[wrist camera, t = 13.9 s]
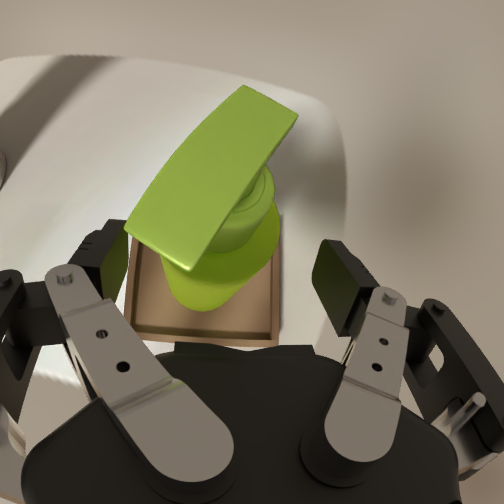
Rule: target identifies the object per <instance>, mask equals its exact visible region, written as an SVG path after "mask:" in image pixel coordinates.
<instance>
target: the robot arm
mask: <svg viewBox="0 0 504 504" xmlns="http://www.w3.org/2000/svg"><path fill="white" fill-rule="evenodd" d="M5 172H6V160H5V157H4V154H3V153H2V152H1V150H0V187H1V185H2V182H3V180H4V176H5ZM126 222H127V220H116V219H109V220H108V221H107V222H106V224H105V225H104V227H103V228H102V230H95V231H93V232H92V233H90V234H88V235H87V236H86V237H85V239H84V240H83V241H82V244H80V246H79V247H78V249H77V250H76V251H75V253H74V254H73V256H72V257H71V259H70V260H69V262H68V263H67V264H64V265H59V266H56V267H54V268H52V269H51V270H50V271H48V272H47V274H46V275H45V281H40V282H30V283H24V280H23V276H22V274H21V273H20V272H19V271H17V270H13V269H9V270H3V271H0V497H1V498H3V499H6V500H9V501H11V502H14V503H17V504H462V501H461V497H460V491H459V481H464V480H466V479H468V478H469V477H470V476H472V475H473V474H475V473H476V472H477V471H479V470H480V469H482V468H483V467H484V466H485V465H487V464H488V463H489V462H491V461H492V460H493V459H494V458H496V457H497V456H498V455H499V454H501V453H502V452H503V451H504V383H503V382H502V380H501V379H500V377H499V376H498V374H497V373H496V371H495V370H494V368H493V367H492V365H491V364H490V362H489V361H488V360H487V358H486V357H485V355H484V354H483V352H482V351H481V350H480V348H479V347H478V346H477V344H476V343H475V341H474V340H473V339H472V338H471V336H470V335H469V333H468V332H467V331H466V330H465V328H464V327H463V326H462V324H461V323H460V322H459V320H458V319H457V318H456V317H455V315H454V314H453V313H452V312H451V310H450V309H449V308H448V307H447V306H446V305H444V304H443V303H441V302H440V301H437V300H435V299H425V300H424V302H423V304H422V306H421V308H420V309H419V308H415V307H411V306H407V302H406V300H405V298H404V297H403V296H402V295H401V294H400V293H398V292H397V291H395V290H393V289H391V288H387V287H381V286H380V285H379V284H378V283H377V281H376V280H375V279H374V277H373V276H372V275H371V274H370V273H369V271H368V270H367V268H365V266H364V265H363V263H362V262H361V261H360V260H359V259H358V258H357V257H355V256H354V255H353V254H351V253H350V252H349V250H348V249H347V248H346V247H345V245H344V244H343V243H342V242H341V241H336V240H327V239H324V240H323V241H322V242H321V245H320V248H319V251H318V255H317V258H316V261H315V264H314V268H313V271H312V284H313V286H314V288H315V290H316V292H317V294H318V296H319V298H320V300H321V302H322V304H323V306H324V308H325V310H326V312H327V315H328V317H329V319H330V320H331V323H332V325H333V327H334V329H335V331H336V333H337V335H338V337H346V336H347V337H349V336H351V340H350V342H349V344H348V346H347V348H346V351H345V353H344V355H343V358H342V360H341V362H340V363H339V362H337V361H335V360H333V359H330V358H327V357H324V356H320V355H316V354H315V352H314V349H313V346H312V345H279V346H274V347H269V348H264V349H259V350H253V351H242V350H238V349H233V348H228V347H224V346H220V345H215V344H211V343H197V342H182V341H175V346H174V351H173V352H167V353H162V354H158V355H155V356H154V355H153V354H152V353H151V351H150V350H149V349H148V348H147V346H146V345H145V344H144V343H143V341H142V340H141V339H140V337H139V336H138V335H137V334H136V332H135V331H134V330H133V328H132V327H131V326H130V324H129V323H128V322H127V320H126V319H125V317H124V316H123V315H122V313H121V312H120V311H119V309H118V308H117V306H116V305H115V302H116V299H117V296H118V293H119V291H120V288H121V285H122V282H123V280H124V277H125V274H126V272H127V268H128V259H129V253H128V233H127V232H126V231H125V230H124V225H125V223H126ZM4 335H6V336H5V338H4V340H3V342H2V339H3V337H4ZM55 344H62V345H63V348H64V350H65V352H66V354H67V357H68V359H69V361H70V363H71V365H72V367H73V369H74V371H75V373H76V375H77V377H78V379H79V381H80V383H81V385H82V387H83V390H84V392H85V394H86V396H87V398H88V400H89V402H90V403H89V404H88V405H86V406H85V407H84V408H82V409H81V410H80V411H79V412H77V413H76V414H75V415H74V416H73V417H71V418H70V419H68V420H67V421H66V422H65V423H63V424H62V425H61V426H60V427H58V428H57V429H56V430H55V431H53V432H52V433H51V434H49V435H48V436H47V437H46V438H44V439H43V440H42V441H41V442H39V443H38V444H37V445H36V446H35V447H34V448H33V449H32V450H31V451H30V452H29V454H28V455H27V457H26V452H25V446H26V445H25V444H26V442H25V436H24V434H23V432H22V430H21V429H20V427H19V426H18V425H17V424H18V420H19V416H20V413H21V409H22V405H23V402H24V398H25V395H26V391H27V388H28V385H29V382H30V378H31V376H32V373H33V370H34V367H35V364H36V361H37V358H38V355H39V353H40V350H41V347H42V346H45V345H55ZM436 344H437V346H438V347H439V349H440V350H441V352H442V353H443V356H444V364H443V366H442V368H441V369H440V371H439V372H437V370H436V368H435V366H434V365H433V363H432V361H431V360H430V358H429V354H430V353H431V351H432V350H433V348H434V347H435V345H436ZM402 376H404V378H405V380H406V382H407V384H408V387H409V389H410V391H411V393H412V395H413V397H414V398H415V401H416V403H417V405H418V407H419V409H420V411H421V414H422V416H423V418H424V419H422V418H421V417H419V416H418V415H416V414H415V413H413V412H412V411H410V410H409V409H407V408H406V407H404V406H403V405H401V401H400V400H399V391H400V387H401V381H402Z"/></svg>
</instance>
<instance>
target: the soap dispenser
mask: <svg viewBox="0 0 504 504" xmlns="http://www.w3.org/2000/svg"><path fill="white" fill-rule="evenodd" d="M298 116H299V115H298V114H297V113H295V112H293V111H292V110H290V109H288V108H287V107H285V106H283V105H281V104H279V103H278V102H276V101H274V100H272V99H270V98H269V97H267V96H265V95H263V94H261V93H259V92H257V91H256V90H254V89H252V88H250V87H248V86H246V85H242V86H241V87H240V88H239V89H237V90H236V91H235V92H234V93H233V94H232V95H230V96H229V97H228V98H227V99H226V100H225V101H224V102H223V103H221V104H220V105H219V106H218V107H217V108H216V109H215V110H214V111H213V112H212V113H211V114H210V115H209V116H208V117H207V118H206V119H205V120H204V121H203V122H202V123H201V124H200V125H199V126H198V127H197V128H196V129H195V130H194V131H193V132H192V133H191V134H190V135H189V136H188V137H187V138H186V140H185V141H184V142H183V143H182V144H181V145H180V146H179V148H178V149H177V150H176V151H175V152H174V154H173V155H172V156H171V157H170V158H169V160H168V161H167V162H166V164H165V165H164V166H163V168H162V169H161V170H160V172H159V173H158V174H157V176H156V177H155V178H154V180H153V181H152V183H151V184H150V186H149V187H148V189H147V190H146V191H145V193H144V194H143V196H142V197H141V199H140V201H139V202H138V204H137V205H136V207H135V208H134V210H133V212H132V213H131V215H130V216H129V218H128V220H127V222H126V223H125V225H124V230H125V231H126V232H127V233H129V234H130V235H132V236H133V237H134V238H136V239H137V240H139V241H140V242H142V243H143V244H145V245H146V246H148V247H149V248H151V249H152V250H153V251H155V252H157V253H158V254H160V257H161V260H162V264H163V267H164V271H165V274H166V278H167V281H168V284H169V288H170V290H171V292H172V294H173V296H174V297H175V299H176V300H177V301H178V302H179V303H180V304H182V305H183V306H185V307H187V308H189V309H191V310H195V311H210V310H213V309H216V308H218V307H220V306H221V305H223V304H224V303H225V302H226V301H227V300H228V299H230V298H231V297H232V296H233V295H234V294H235V293H236V292H237V291H238V290H239V289H240V288H241V287H242V286H244V285H245V284H246V283H247V282H248V281H249V280H250V279H251V278H252V277H253V276H254V275H255V274H256V273H257V272H259V271H260V270H261V269H262V268H263V267H264V266H265V265H266V264H267V262H268V261H269V260H270V258H271V257H272V255H273V253H274V251H275V249H276V247H277V244H278V240H279V235H280V219H279V214H278V210H277V207H276V205H275V203H274V201H273V199H274V194H275V185H274V180H273V177H272V174H271V172H270V170H269V168H268V167H267V165H266V163H267V161H268V160H269V158H270V157H271V156H272V154H273V153H274V151H275V150H276V149H277V147H278V146H279V145H280V143H281V142H282V141H283V139H284V138H285V136H286V135H287V134H288V132H289V131H290V130H291V128H292V127H293V125H294V123H295V122H296V120H297V118H298Z"/></svg>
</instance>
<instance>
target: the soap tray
mask: <svg viewBox="0 0 504 504" xmlns="http://www.w3.org/2000/svg"><path fill="white" fill-rule="evenodd" d="M279 276H280V235H279V240H278V244H277V247H276V249H275V251H274V253H273V255H272V257H271V258H270V260H269V261H268V262H267V264H266V265H265V266H264V267H263V268H262V269H261V270H260V271H259V272H257V273H256V274H255V275H254V276H253V277H252V278H251V279H250V280H249V281H248V282H247V283H246V284H245V285H244V286H242V287H241V288H240V289H239V290H238V291H237V292H236V293H235V294H234V295H233V296H232V297H231V298H230V299H228V300H227V301H226V302H225V303H224V304H223V305H221V306H220V307H218V308H216V309H213V310H210V311H195V310H191V309H189V308H187V307H185V306H183V305H182V304H180V303H179V302H178V301H177V300H176V299H175V297H174V296H173V294H172V292H171V290H170V288H169V284H168V281H167V278H166V274H165V271H164V267H163V264H162V260H161V257H160V254H158V253H157V252H155V251H153V250H152V249H151V248H149V247H148V246H146V245H145V244H143V243H142V242H140V241H139V240H137V239H136V238H134V237H132V244H131V251H130V258H129V266H128V275H127V284H126V294H125V305H124V317H125V319H126V320H127V322H128V323H129V324H130V326H131V327H132V328H133V330H134V331H135V332H136V334H137V335H138V336H139V337H140V339H141V340H148V341H158V342H169V343H175V341H182V342H197V343H211V344H215V345H220V346H237V347H274V346H278V342H279Z"/></svg>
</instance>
